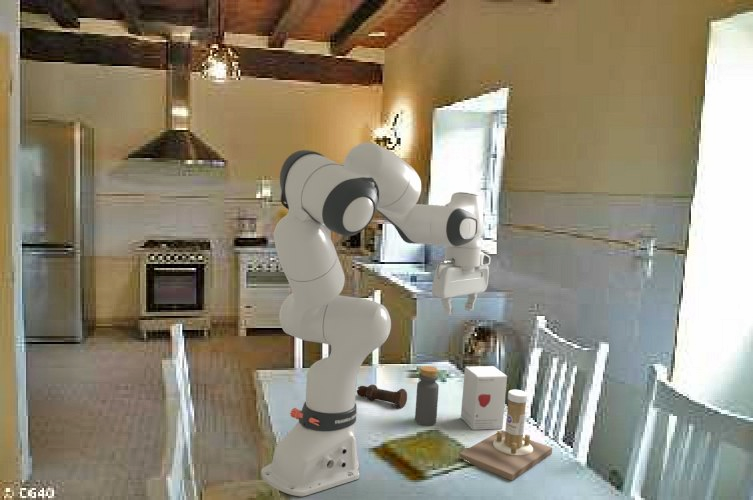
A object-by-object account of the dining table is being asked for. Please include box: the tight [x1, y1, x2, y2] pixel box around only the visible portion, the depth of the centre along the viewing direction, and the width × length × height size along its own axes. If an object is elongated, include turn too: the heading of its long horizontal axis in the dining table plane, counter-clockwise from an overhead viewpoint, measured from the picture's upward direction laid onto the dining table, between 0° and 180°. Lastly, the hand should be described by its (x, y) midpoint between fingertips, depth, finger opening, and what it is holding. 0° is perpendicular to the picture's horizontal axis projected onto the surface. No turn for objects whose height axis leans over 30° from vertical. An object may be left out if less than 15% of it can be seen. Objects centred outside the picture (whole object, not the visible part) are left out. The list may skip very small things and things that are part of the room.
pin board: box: [458, 429, 553, 481], centre depth 142 cm, size 20×14×4 cm
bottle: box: [414, 365, 440, 427], centre depth 160 cm, size 6×6×15 cm
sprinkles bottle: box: [504, 389, 528, 448], centre depth 144 cm, size 5×5×14 cm
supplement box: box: [460, 365, 508, 431], centre depth 161 cm, size 9×9×15 cm
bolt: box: [356, 384, 408, 409], centre depth 174 cm, size 6×5×15 cm
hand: (458, 312), depth 148 cm, fingers open, 8 cm apart
